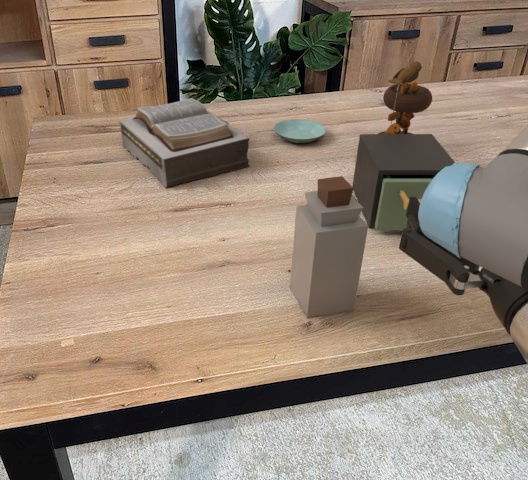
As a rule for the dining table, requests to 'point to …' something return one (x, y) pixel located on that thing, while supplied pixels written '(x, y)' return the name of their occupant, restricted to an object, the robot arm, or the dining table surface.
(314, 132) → the saucer
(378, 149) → the cabinet
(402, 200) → the drawer
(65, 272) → the dining table surface
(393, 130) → the bird figurine
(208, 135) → the bible
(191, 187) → the dining table surface
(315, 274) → the perfume bottle
